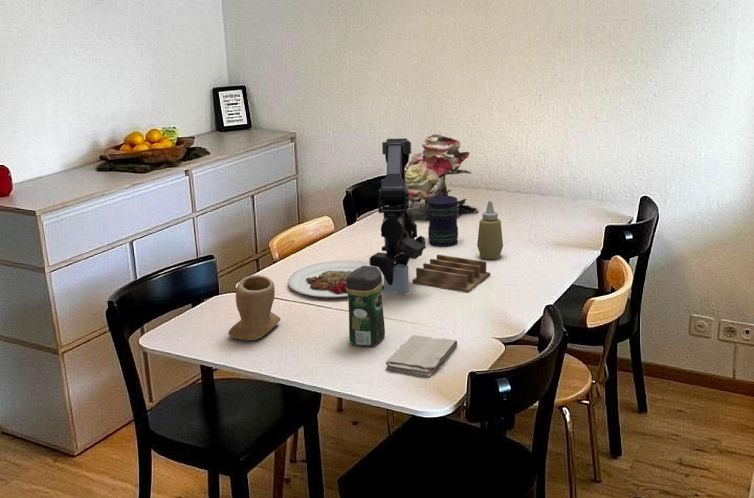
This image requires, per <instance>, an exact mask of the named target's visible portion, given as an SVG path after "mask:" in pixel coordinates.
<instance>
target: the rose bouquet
mask: <svg viewBox="0 0 754 498" xmlns="http://www.w3.org/2000/svg"><path fill="white" fill-rule="evenodd" d="M423 142H424V143H422V144H421V146H422V148H423V149H424V150H423V151H422V152H418V153H415V154H413V155H412V156H411V159H410V160H409V162H408V164H407V165H406V166H405V182H406V188H407V191H408V192H409V202H411V203H410V205H409V208H408V209H409V210H410V211H411V213H412V220H414V221H423V222H429V216H428V199H429V198H431V197H434V196H449V193H450V192H451V191H452V189H448V187H447V185H446V176H449V175H460V174H467V175H468V174H469V175H471V174H472V171H468V170H466V169H465V170H464V169H459V168H460V167H461V164H462V163H463V162H465V160H466V159H468V158H470V152H469V151H462V152H460V150H459V149H460V148H461V141H459V140H457V139H454V138H451V137H447V136H446V135H441V134H438V133H437V134H431V135H430V136H427V137H425V138H424V139H423ZM447 189H448V190H447ZM423 200H424V204H423V205H419V206H418V208H414V207H415V206H414V205H413V204H414V203H416V202H418V203H421V202H422V201H423ZM466 201H467V198H462V199H461V200H457V206H458V210H459V209H462V210H465V211H473V213H474V214H476V213H479V211H478V208H476V207H474V206H471V205H467V204H466ZM465 204H466V205H465ZM462 215H463V214H460V213H458V215H457V218H459V217H462Z"/></svg>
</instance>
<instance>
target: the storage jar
mask: <svg viewBox="0 0 754 498" xmlns="http://www.w3.org/2000/svg"><path fill="white" fill-rule="evenodd" d="M457 201H458V197H456V196H452V195H448V196H434V197H431V198H429V199H428V216H429V221H428V224H429V225H428V229H427V231H428V232H427V233H428V245H430V246H431V247H435V248H450V247H451V248H452V247H454V246H457V245H458V243H459V240H458V237H459V226H458V217H457V215H458V214H459V209H458V206H457Z"/></svg>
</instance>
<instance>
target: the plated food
mask: <svg viewBox="0 0 754 498" xmlns="http://www.w3.org/2000/svg"><path fill="white" fill-rule="evenodd" d="M361 266H370V261H369V262H368V261H364V260H363V261H361V260H351V259H350V260H330V261H323V262H318V263H314V264H311V265H307V266H305V267H302V268H300V269H297V270H295V271H294V272H293V273H292V274H291V275H289V277H288V280H287V284H288V286H289V288H291V289H292V290H293V291H295V292H297V293H299V294H303V295H305V296H311V297H318V298H319V297H320V298H348V294H347V290H346V277H347V276H348V275H349V274H350V273H352V272H353V271H354V270H356V269H358V268H360V267H361ZM372 267H375V266H372ZM377 268H378V267H377ZM378 269H379V268H378ZM379 270H380V269H379ZM381 276H382V287H384V275H383V274H382V272H381Z"/></svg>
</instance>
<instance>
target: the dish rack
mask: <svg viewBox="0 0 754 498" xmlns="http://www.w3.org/2000/svg"><path fill="white" fill-rule="evenodd" d="M422 267H423V268H422ZM422 267H416V268H415V273H416V274H415V275H416V276H415V278H413V279H412V281H411V282H412V284H415V285H421V286H427V287H432V288H433V287H434V288H439V289H446V290H449V291H456V292H461V291H462V292H463V293H467V292H469V293H471V292H472V291H473V290H474V289H475V288H477V287H478V286H479V285H481V284H482V283H483V282H484V281H486V280H487V279H488V278H490V277H491V272H489V271H487V261H484V260H478V259H472V258H464V257H458V256H451V255H443V254H436V259H434V258H430V259H429V263H426V262H423V264H422ZM489 276H490V277H489ZM485 279H486V280H485ZM481 282H482V283H481ZM478 284H479V285H478ZM477 285H478V286H477ZM476 286H477V287H476ZM473 288H474V289H473ZM472 289H473V290H472Z"/></svg>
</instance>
